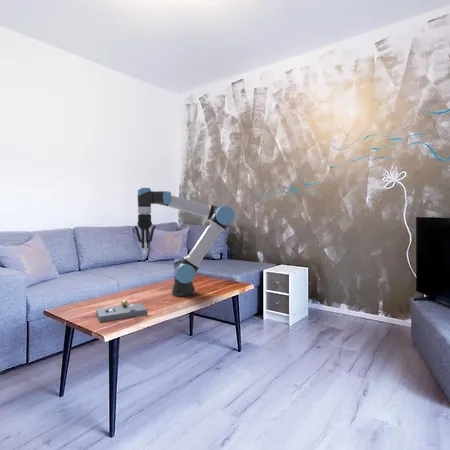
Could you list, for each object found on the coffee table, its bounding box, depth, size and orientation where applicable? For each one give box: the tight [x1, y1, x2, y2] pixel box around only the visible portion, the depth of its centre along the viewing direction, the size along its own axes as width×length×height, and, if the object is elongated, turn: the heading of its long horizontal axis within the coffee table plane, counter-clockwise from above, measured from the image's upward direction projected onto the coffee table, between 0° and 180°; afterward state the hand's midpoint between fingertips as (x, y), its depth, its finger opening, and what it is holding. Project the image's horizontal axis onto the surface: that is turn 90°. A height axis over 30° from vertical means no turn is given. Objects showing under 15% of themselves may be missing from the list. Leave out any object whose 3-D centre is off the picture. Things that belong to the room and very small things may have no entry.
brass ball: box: [121, 299, 129, 306], centre depth 171 cm, size 3×3×3 cm
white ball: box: [129, 303, 136, 311], centre depth 163 cm, size 3×3×3 cm
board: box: [95, 302, 148, 323], centre depth 165 cm, size 23×14×2 cm, turn 118°
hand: (145, 253), depth 189 cm, fingers closed
